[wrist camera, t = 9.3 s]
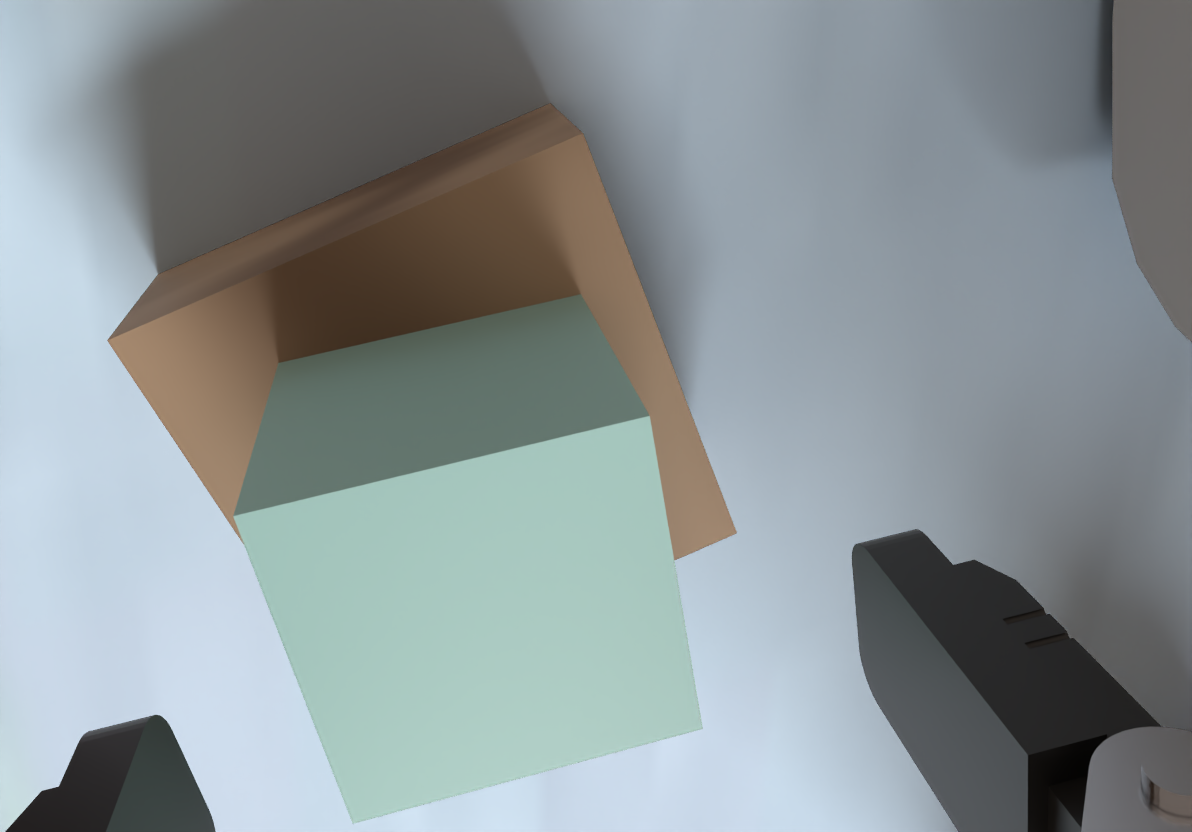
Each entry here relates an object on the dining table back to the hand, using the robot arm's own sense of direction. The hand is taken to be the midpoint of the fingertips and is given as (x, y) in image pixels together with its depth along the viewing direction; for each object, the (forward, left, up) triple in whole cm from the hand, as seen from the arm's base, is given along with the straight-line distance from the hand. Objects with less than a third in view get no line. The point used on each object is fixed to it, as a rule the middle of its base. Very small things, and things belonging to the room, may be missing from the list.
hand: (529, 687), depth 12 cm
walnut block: (+1, 0, -10) cm, 10 cm away
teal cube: (0, 0, -6) cm, 6 cm away
